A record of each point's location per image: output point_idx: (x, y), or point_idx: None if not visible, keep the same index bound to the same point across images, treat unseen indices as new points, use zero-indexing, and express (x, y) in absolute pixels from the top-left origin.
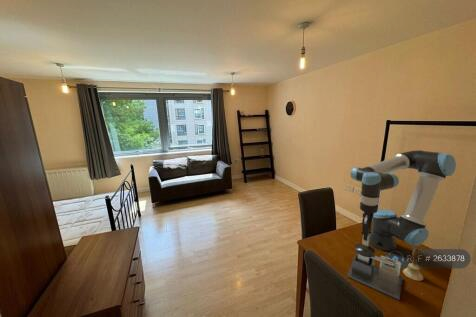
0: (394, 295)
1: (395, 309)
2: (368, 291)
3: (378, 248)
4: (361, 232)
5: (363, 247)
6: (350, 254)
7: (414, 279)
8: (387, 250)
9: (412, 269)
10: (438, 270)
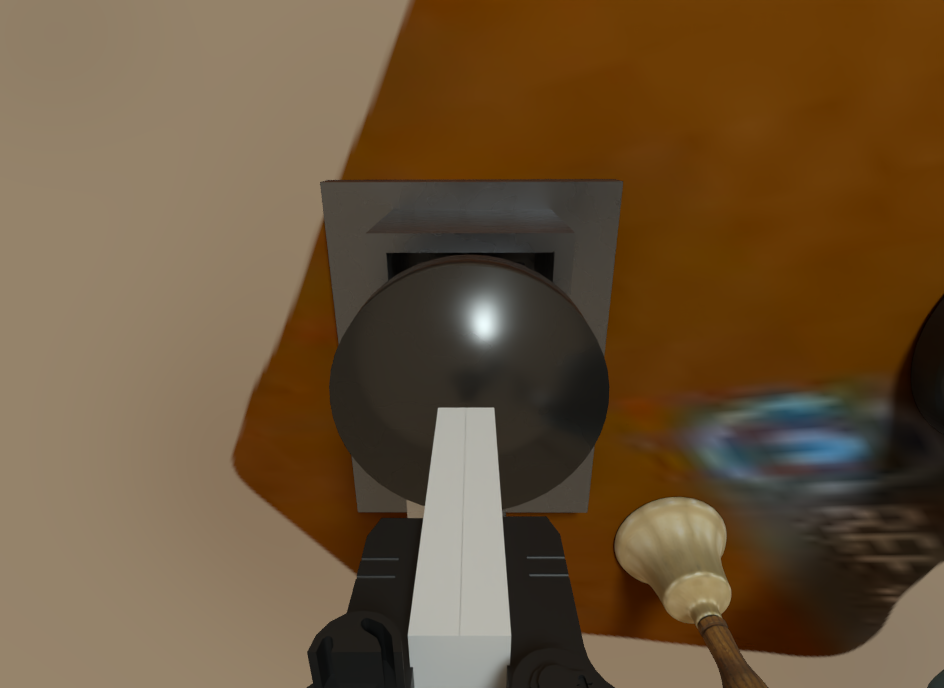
0: (355, 489)
1: (272, 487)
2: (294, 351)
3: (925, 333)
4: (337, 650)
5: (495, 381)
6: (694, 118)
7: (617, 551)
8: (917, 398)
9: (661, 584)
10: (795, 634)
